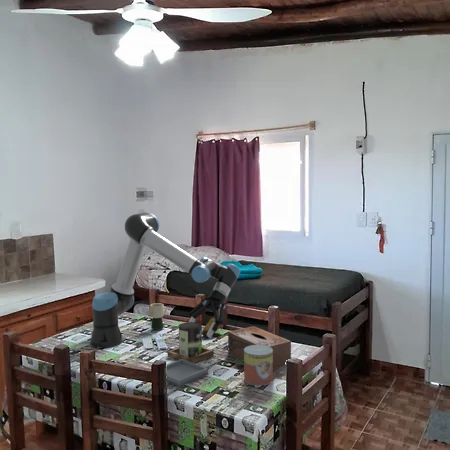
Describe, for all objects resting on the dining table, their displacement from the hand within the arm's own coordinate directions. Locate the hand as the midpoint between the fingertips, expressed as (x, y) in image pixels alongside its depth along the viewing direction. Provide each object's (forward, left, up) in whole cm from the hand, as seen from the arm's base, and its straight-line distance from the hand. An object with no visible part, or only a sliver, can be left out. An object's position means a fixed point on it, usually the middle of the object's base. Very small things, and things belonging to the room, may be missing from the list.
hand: (197, 333), depth 210 cm
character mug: (-43, +13, -10) cm, 46 cm away
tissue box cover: (+23, +15, -10) cm, 29 cm away
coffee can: (-1, -3, -10) cm, 11 cm away
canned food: (+37, -3, -10) cm, 38 cm away
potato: (-15, +25, -10) cm, 31 cm away
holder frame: (-1, -3, -10) cm, 10 cm away
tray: (+11, -20, -10) cm, 25 cm away
